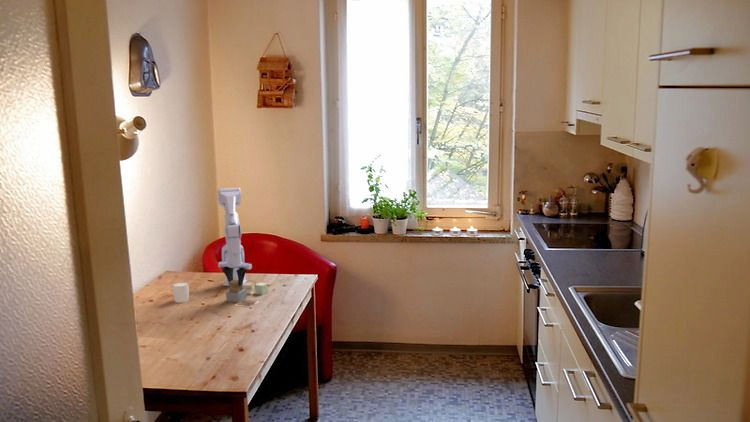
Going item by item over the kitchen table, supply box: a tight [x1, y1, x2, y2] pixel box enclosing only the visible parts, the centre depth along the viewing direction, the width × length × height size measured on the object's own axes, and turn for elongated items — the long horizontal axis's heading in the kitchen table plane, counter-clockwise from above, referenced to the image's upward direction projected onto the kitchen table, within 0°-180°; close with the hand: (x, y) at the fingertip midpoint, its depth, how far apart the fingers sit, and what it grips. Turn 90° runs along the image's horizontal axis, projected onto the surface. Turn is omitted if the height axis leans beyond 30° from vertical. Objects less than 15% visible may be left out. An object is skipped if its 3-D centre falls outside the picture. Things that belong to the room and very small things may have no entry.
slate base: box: [225, 289, 248, 303], centre depth 279 cm, size 6×6×4 cm
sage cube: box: [254, 281, 269, 296], centre depth 287 cm, size 4×4×4 cm
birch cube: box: [242, 281, 255, 295], centre depth 288 cm, size 4×4×4 cm
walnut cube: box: [228, 280, 243, 292], centre depth 278 cm, size 4×4×4 cm
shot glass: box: [171, 281, 190, 304], centre depth 278 cm, size 7×7×7 cm
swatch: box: [234, 299, 260, 308], centre depth 273 cm, size 7×7×1 cm
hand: (235, 284), depth 278 cm, fingers closed on walnut cube, 4 cm apart
